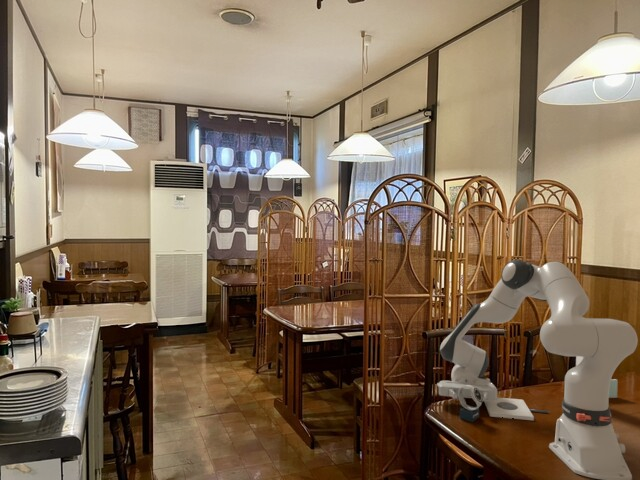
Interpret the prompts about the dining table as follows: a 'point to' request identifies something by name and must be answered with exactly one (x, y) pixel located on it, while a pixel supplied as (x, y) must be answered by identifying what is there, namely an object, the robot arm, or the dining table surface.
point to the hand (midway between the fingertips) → (469, 398)
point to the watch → (469, 411)
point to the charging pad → (510, 409)
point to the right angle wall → (613, 388)
